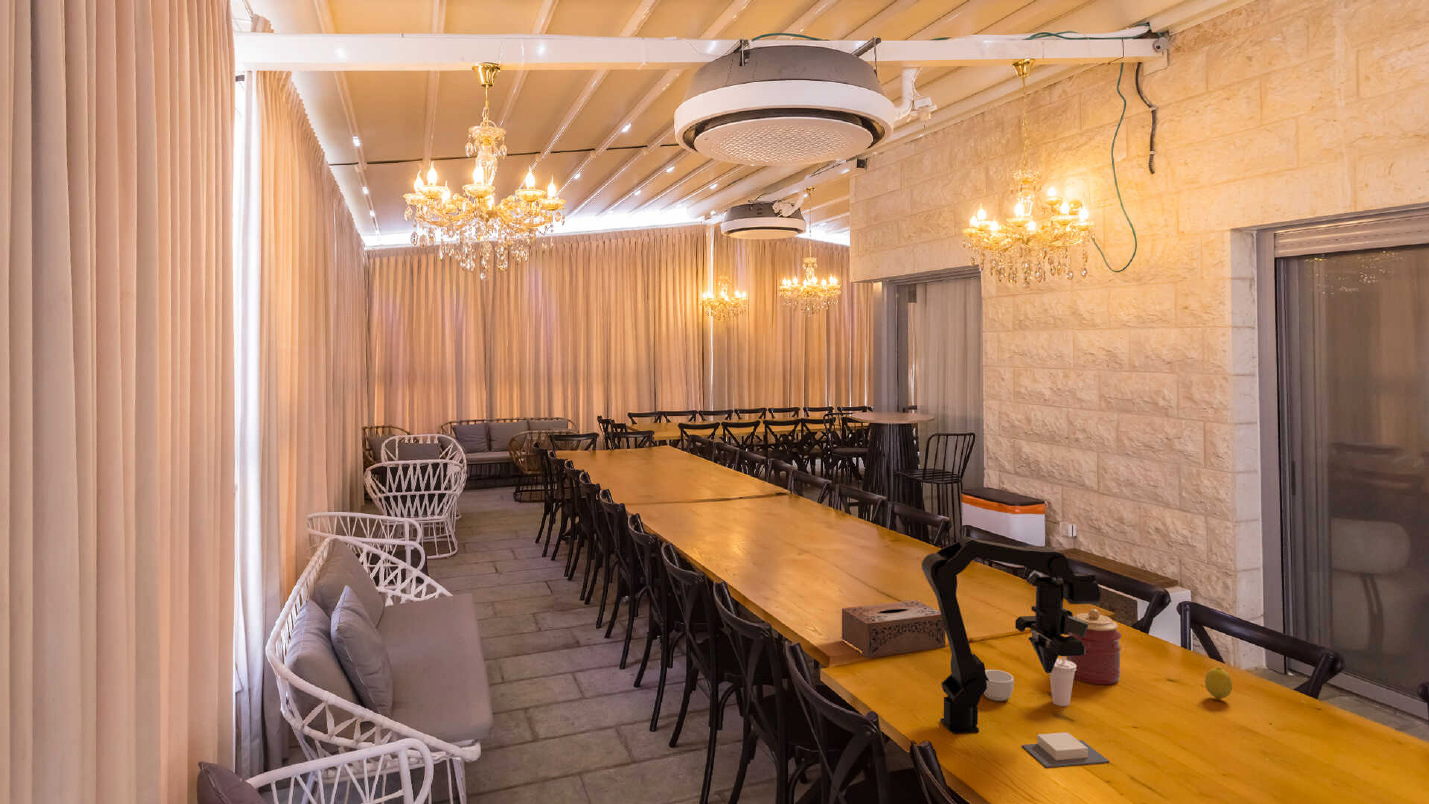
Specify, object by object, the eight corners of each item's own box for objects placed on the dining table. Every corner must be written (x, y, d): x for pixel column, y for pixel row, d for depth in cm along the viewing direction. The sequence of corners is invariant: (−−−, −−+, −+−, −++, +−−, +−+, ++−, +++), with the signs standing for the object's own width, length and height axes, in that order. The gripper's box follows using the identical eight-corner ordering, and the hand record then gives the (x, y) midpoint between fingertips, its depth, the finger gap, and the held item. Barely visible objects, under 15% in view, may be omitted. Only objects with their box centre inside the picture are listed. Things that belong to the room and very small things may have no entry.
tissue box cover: (866, 659, 215) (867, 623, 215) (841, 641, 229) (841, 608, 228) (945, 648, 223) (945, 613, 223) (916, 631, 237) (916, 599, 237)
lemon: (1206, 692, 192) (1207, 661, 192) (1233, 698, 189) (1234, 666, 188) (1203, 700, 188) (1204, 667, 188) (1230, 706, 184) (1231, 673, 184)
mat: (1046, 767, 156) (1046, 766, 156) (1022, 746, 165) (1022, 744, 165) (1109, 762, 158) (1109, 761, 158) (1082, 741, 167) (1082, 740, 167)
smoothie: (1059, 710, 182) (1060, 651, 182) (1040, 698, 189) (1041, 642, 188) (1081, 706, 184) (1083, 649, 184) (1062, 695, 190) (1064, 639, 190)
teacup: (1007, 707, 184) (1007, 685, 184) (975, 698, 189) (975, 676, 189) (1020, 693, 192) (1020, 672, 192) (989, 685, 197) (989, 664, 196)
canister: (1115, 690, 194) (1116, 620, 193) (1059, 677, 202) (1061, 610, 201) (1124, 673, 204) (1126, 607, 203) (1071, 662, 212) (1073, 598, 211)
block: (1037, 744, 165) (1056, 760, 158) (1037, 734, 165) (1056, 750, 158) (1067, 741, 166) (1087, 757, 159) (1067, 732, 166) (1087, 748, 159)
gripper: (1109, 615, 165) (1107, 687, 166) (1058, 590, 184) (1057, 655, 184) (1060, 618, 164) (1059, 690, 164) (1014, 592, 182) (1013, 658, 183)
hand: (1048, 672), depth 174 cm, fingers closed
